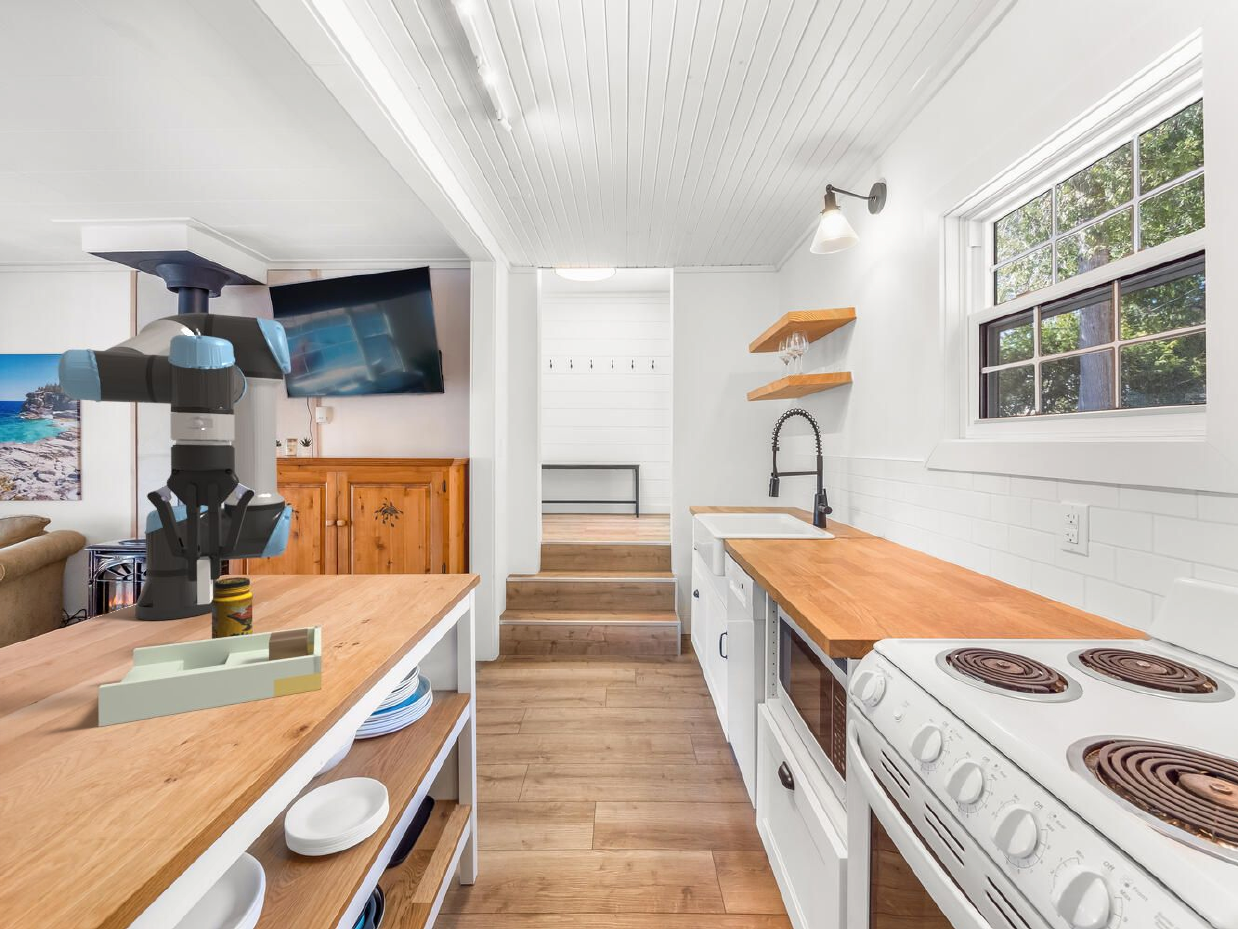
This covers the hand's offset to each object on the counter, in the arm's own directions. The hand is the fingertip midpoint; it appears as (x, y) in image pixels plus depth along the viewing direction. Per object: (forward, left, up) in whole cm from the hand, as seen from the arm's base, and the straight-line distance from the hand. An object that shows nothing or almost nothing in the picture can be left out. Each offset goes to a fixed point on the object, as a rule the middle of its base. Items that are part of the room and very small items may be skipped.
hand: (205, 601), depth 83 cm
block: (+1, +11, -10) cm, 15 cm away
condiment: (-19, 0, -13) cm, 23 cm away
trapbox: (+1, +3, -13) cm, 13 cm away
